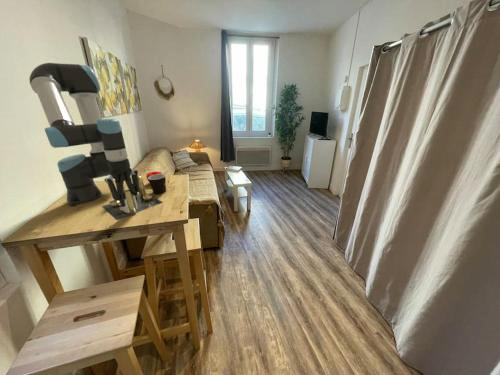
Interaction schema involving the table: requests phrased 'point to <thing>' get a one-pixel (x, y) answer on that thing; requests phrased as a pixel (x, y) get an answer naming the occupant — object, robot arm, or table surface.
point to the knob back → (116, 202)
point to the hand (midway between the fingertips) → (131, 210)
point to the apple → (152, 174)
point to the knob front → (129, 202)
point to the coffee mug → (158, 183)
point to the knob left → (143, 190)
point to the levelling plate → (141, 206)
